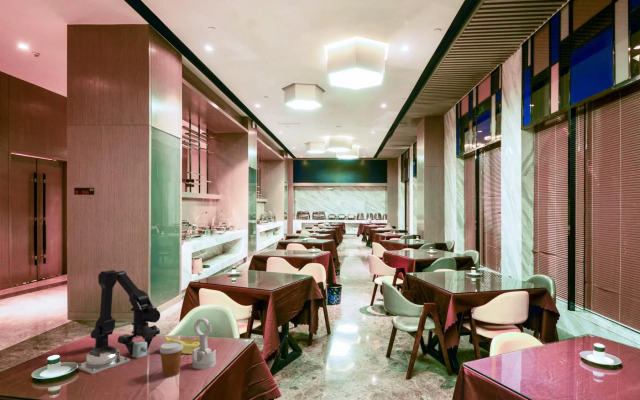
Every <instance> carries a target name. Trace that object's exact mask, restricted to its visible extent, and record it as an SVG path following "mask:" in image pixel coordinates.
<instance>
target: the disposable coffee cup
mask: <svg viewBox="0 0 640 400" xmlns="http://www.w3.org/2000/svg"><path fill="white" fill-rule="evenodd" d="M182 349H183V345H182V343H181V342H169V343H166V342H165V343H163V344H161V345H160V348H159V349H158V350H159V352H160V360H161V361H160V362H161V368H162V376H163V377H174V376H177V375H179V373H180V366H181V360H182V354H183V353H182Z"/></svg>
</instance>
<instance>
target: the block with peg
mask: <svg viewBox="0 0 640 400" xmlns="http://www.w3.org/2000/svg"><path fill="white" fill-rule="evenodd" d="M147 355H148V351H147V342H145V340H144V341H143V340H139V341H135V342H134V344H133V355H132V356H131V357H133V358H136V359H139V358H141V357H145V356H147Z"/></svg>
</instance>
